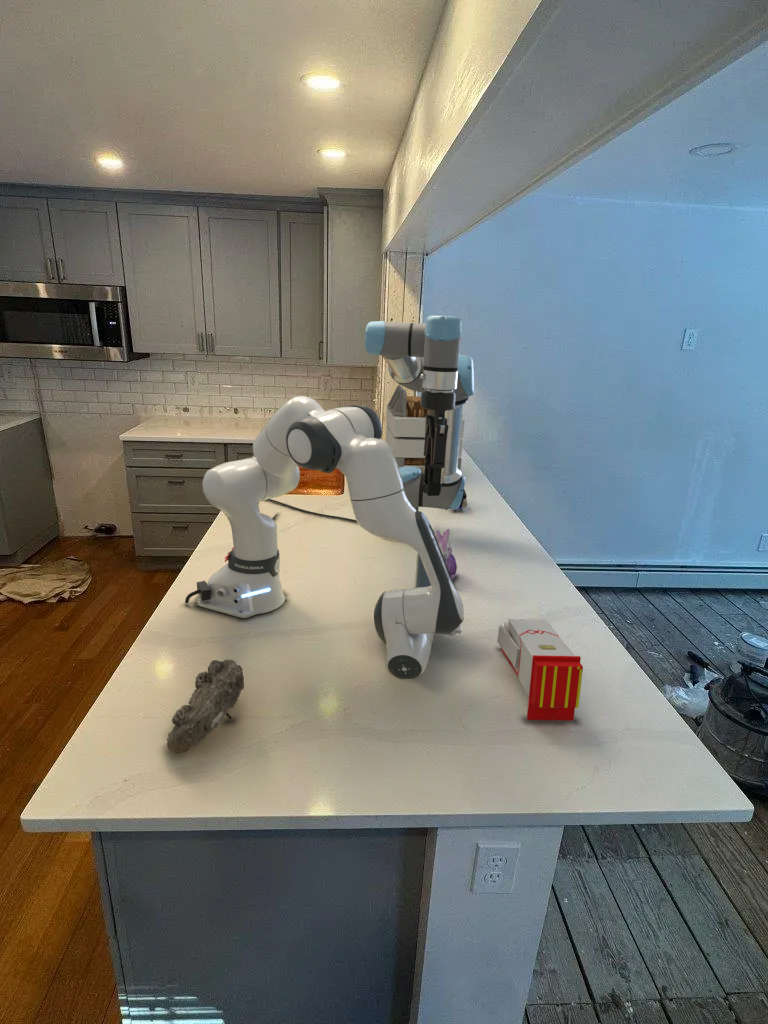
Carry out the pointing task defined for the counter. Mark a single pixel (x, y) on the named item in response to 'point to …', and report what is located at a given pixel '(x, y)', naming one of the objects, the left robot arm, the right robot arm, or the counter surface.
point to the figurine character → (463, 501)
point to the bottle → (421, 574)
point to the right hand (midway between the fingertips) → (431, 491)
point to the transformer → (409, 429)
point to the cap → (426, 486)
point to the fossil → (206, 705)
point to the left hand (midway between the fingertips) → (423, 600)
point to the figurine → (447, 551)
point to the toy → (542, 668)
